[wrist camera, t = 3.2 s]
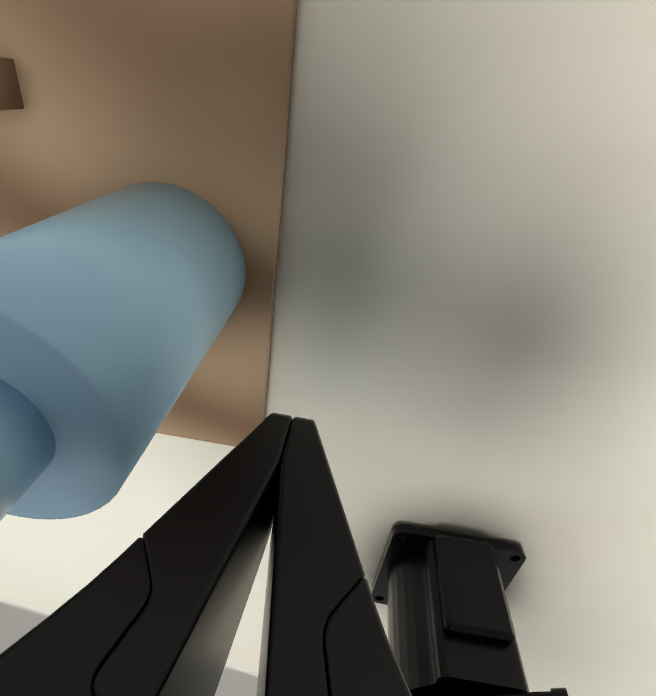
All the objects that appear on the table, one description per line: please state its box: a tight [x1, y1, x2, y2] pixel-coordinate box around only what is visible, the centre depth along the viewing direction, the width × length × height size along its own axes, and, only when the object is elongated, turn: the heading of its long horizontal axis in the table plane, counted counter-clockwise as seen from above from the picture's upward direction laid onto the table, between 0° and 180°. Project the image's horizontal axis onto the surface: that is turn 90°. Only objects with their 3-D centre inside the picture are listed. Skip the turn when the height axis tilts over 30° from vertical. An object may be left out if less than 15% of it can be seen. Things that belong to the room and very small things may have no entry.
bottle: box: [0, 182, 246, 521], centre depth 10 cm, size 5×5×11 cm
